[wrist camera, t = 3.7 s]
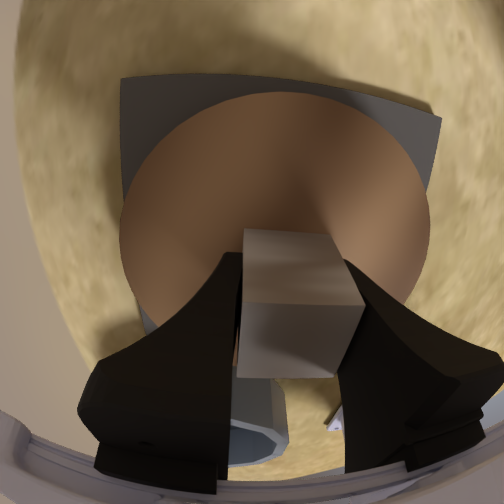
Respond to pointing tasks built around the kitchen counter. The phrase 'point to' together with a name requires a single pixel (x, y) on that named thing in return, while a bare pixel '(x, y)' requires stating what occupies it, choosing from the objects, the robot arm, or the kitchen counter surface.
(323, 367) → the lid
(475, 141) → the kitchen counter surface
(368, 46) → the kitchen counter surface
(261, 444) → the bowl
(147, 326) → the mat
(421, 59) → the kitchen counter surface
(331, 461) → the kitchen counter surface
